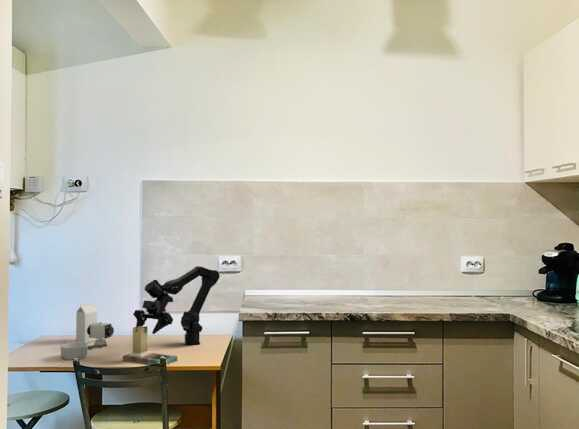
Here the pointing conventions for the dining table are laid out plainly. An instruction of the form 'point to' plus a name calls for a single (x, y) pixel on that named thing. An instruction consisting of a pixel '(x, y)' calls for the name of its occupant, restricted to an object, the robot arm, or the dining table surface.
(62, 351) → the saucepan
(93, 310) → the milk carton
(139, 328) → the brass clip
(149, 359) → the divided tray
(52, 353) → the dining table surface
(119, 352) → the dining table surface
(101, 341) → the pneumatic valve
